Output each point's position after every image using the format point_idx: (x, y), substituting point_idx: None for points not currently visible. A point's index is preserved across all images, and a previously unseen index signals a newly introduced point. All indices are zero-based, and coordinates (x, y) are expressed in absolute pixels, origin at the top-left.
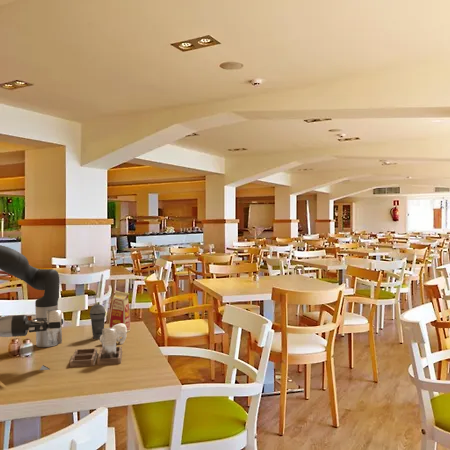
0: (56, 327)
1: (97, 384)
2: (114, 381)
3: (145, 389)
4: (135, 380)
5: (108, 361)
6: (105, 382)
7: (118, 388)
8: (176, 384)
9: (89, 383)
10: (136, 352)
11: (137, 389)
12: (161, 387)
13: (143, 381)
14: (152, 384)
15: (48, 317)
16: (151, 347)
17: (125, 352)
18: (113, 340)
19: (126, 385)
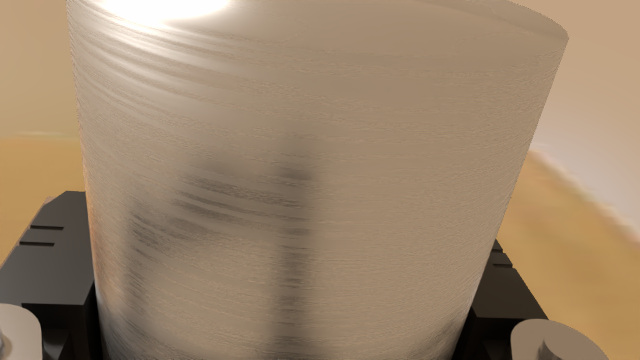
0: None
1: (613, 317)
2: (549, 264)
3: (602, 200)
4: (517, 213)
5: None
6: (573, 291)
7: (628, 255)
8: (530, 151)
9: (614, 349)
10: (64, 190)
11: (612, 214)
12: (568, 173)
13: (523, 198)
14: (547, 185)
15: (488, 239)
16: (5, 148)
17: (24, 222)
18: None
19: (583, 235)
